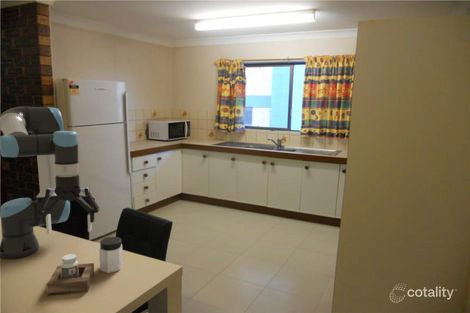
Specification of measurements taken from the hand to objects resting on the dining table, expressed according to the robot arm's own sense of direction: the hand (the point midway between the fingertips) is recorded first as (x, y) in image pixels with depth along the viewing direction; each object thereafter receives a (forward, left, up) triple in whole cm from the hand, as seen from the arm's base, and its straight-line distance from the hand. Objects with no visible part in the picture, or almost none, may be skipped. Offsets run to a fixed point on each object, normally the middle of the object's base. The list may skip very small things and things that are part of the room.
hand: (69, 231), depth 118 cm
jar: (-10, +13, -21) cm, 26 cm away
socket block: (0, 0, -21) cm, 21 cm away
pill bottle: (0, 0, -20) cm, 20 cm away
